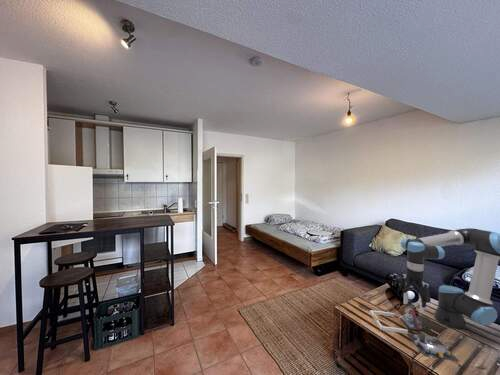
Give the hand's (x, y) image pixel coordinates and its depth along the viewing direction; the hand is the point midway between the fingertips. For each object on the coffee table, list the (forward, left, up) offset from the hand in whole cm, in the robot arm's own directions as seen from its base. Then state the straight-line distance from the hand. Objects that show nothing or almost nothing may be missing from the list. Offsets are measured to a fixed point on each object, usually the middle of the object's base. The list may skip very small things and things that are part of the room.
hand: (413, 307), depth 118 cm
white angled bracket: (+7, -13, -19) cm, 24 cm away
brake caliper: (-7, -13, -20) cm, 24 cm away
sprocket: (-7, +4, -19) cm, 20 cm away
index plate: (-7, +4, -19) cm, 21 cm away
